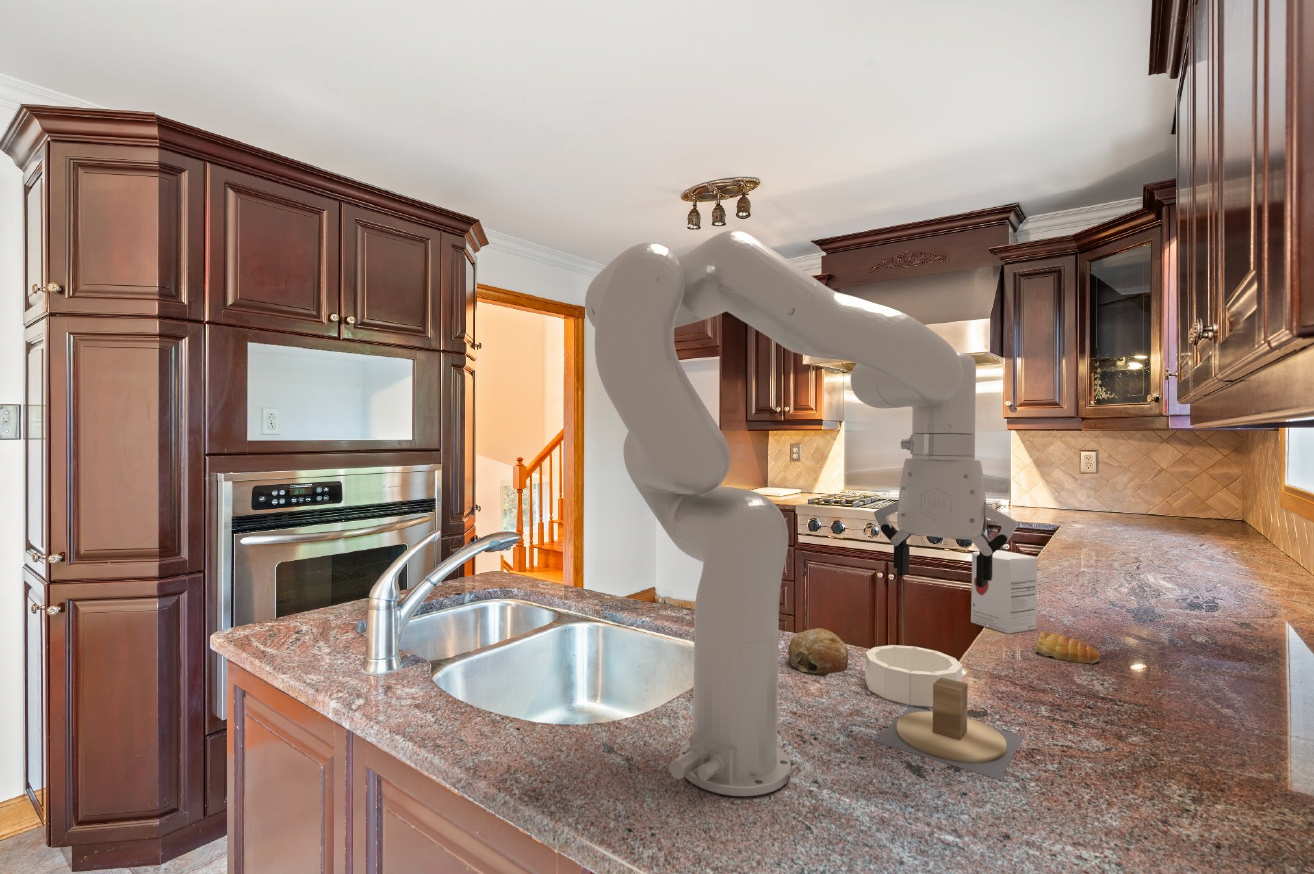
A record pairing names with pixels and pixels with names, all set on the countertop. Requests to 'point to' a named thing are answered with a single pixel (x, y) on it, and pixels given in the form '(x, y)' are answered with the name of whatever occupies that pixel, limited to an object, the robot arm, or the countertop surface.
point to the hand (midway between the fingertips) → (941, 580)
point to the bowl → (908, 673)
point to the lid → (951, 728)
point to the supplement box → (1006, 593)
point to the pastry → (1066, 648)
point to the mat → (986, 769)
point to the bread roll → (818, 652)
